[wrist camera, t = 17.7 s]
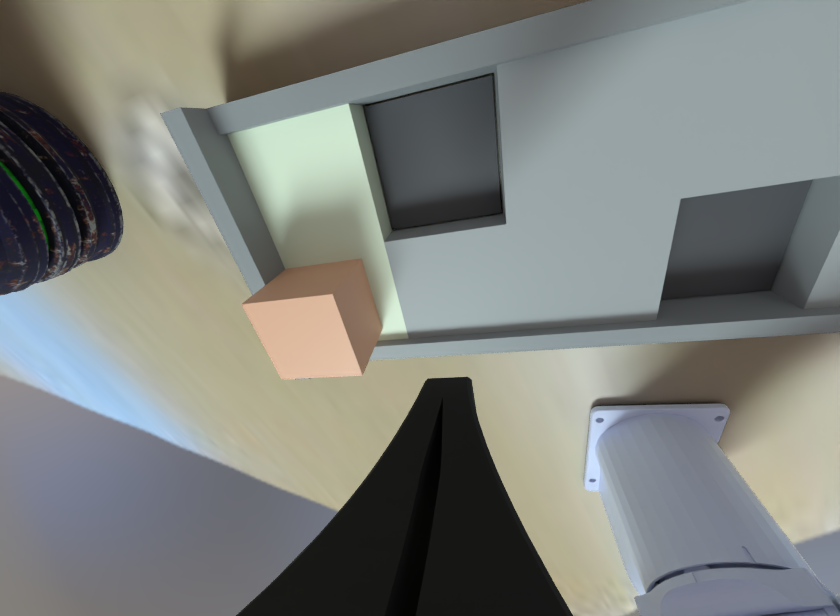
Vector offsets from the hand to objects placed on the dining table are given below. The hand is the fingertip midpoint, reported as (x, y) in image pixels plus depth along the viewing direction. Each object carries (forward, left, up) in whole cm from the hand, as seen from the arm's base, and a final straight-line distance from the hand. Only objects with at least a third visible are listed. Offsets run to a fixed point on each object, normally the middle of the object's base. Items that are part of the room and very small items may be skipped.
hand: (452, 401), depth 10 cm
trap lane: (+3, -5, -10) cm, 12 cm away
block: (0, +7, -8) cm, 11 cm away
